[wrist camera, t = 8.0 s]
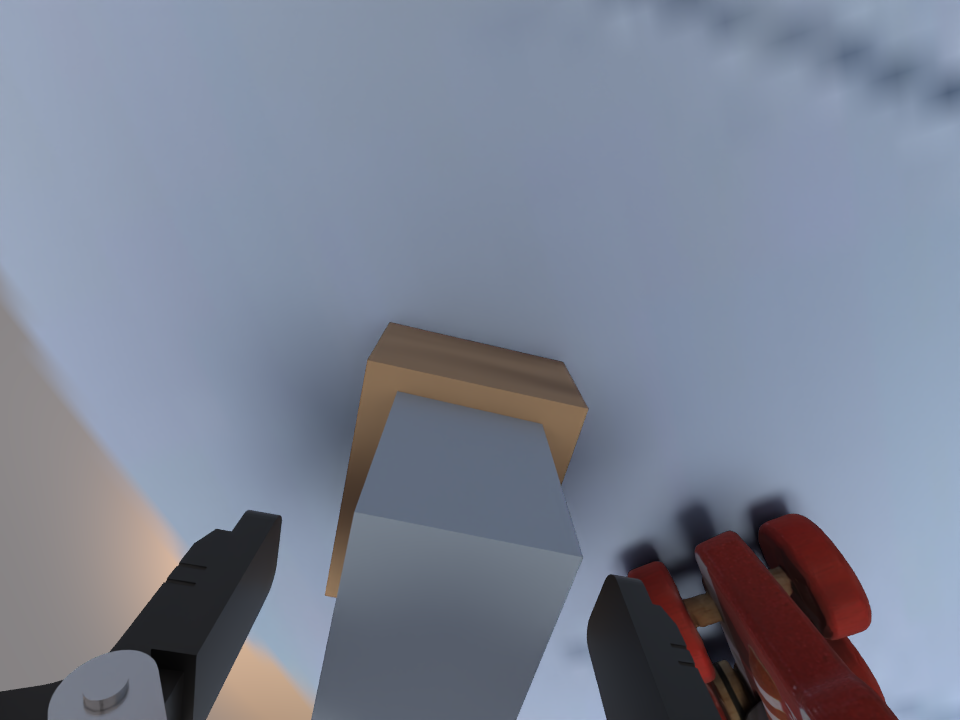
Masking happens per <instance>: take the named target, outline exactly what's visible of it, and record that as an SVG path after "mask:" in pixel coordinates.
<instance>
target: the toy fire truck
mask: <svg viewBox="0 0 960 720" xmlns="http://www.w3.org/2000/svg"><path fill="white" fill-rule="evenodd" d="M758 540H759V544H760V547H761V550H762V552H763V555H764V557H765V559H766V561H767V564H768V566H769V567H770V569H769V570H768V569H767V568H766V567H765V566H764V565H763V563H762V562H761V561H760V560H759V559H758V557H757V556H756V555H755V553H754V552H753V551H752V550H751V549H750V547H749V546H748V545H747V544H746V543H745V542H744V541H743V540H742V539H741V538H740V536H739V535H738V534H737V533H735V532H733V531H726V532H724V533H722V534H719V535H717V536H715V537H713V538H711V539H708V540H706V541H704V542H702V543H700V544H698V545H697V546H696V548H695V558H696V561H697V563H698V565H699V569H700V572H701V574H702V582H703V585H704V588H705V591H706V593H705V594H701V595H698V596H695V597H692V598H688V599H682V598H681V596H680V594H679V591H678V588H677V586H676V584H675V582H674V580H673V578H672V577H671V575H670V573H669V571H668V569H667V568H666V566H665V565H664V564H663V563H662V562H659V561H654V562H651V563H649V564H646V565H643V566H641V567H638V568H635V569H633V570H631V571H629V573H628V577H629V578H635V579H639V580H641V581H642V582H643V584H644V586H645V588H646V590H647V592H648V595H649V597H650V599H651V601H652V604H654V605H660V606H661V607H662V608H663V609H664V611H665V612H666V613H667V614H668V615H669V616H670V618H671V619H672V620H673V621H674V622H675V623H676V625H677V626H678V628H679V631H680V633H681V635H682V637H683V639H684V641H685V643H686V645H687V650H689V651H690V654H691V656H692V658H693V660H694V662H695V668H698V670H699V672H700V675H701V677H702V679H703V681H704V683H705V685H706V687H707V689H708V691H709V693H710V695H711V698H712V700H713V702H714V704H715V706H716V708H717V710H718V712H719V714H720V716H721V719H722V720H898V718H897V717H896V716H895V714H894V713H893V712H892V711H891V709H890V708H889V707H888V706H887V704H886V702H885V698H884V696H883V694H882V691H881V689H880V687H879V685H878V683H877V681H876V679H875V677H874V675H873V674H872V672H871V670H870V669H869V667H868V666H867V664H866V662H865V661H864V659H863V658H862V657H861V655H860V654H859V652H858V651H857V649H856V648H855V647H854V645H853V644H852V643H851V641H850V640H849V639H848V637H847V636H850V635H854V634H856V633H859V632H862V631H864V630H866V629H867V628H868V627H869V625H870V623H871V608H870V605H869V601H868V598H867V596H866V594H865V591H864V589H863V587H862V585H861V583H860V581H859V580H858V578H857V576H856V575H855V573H854V571H853V570H852V568H851V567H850V565H849V564H848V562H847V561H846V559H845V558H844V557H843V555H842V554H841V553H840V551H839V550H838V549H837V547H836V546H835V545H834V543H833V542H832V541H831V540H830V539H829V538H828V537H827V535H826V534H825V533H824V532H823V531H822V530H821V529H820V528H819V527H818V526H817V525H816V524H814V523H813V522H812V521H811V520H809V519H808V518H806V517H804V516H802V515H799V514H787V515H784V516H781V517H779V518H776V519H773V520H770V521H767V522H765V523H764V524H762V525H761V526H760V528H759V533H758ZM716 622H720V624H721V626H722V629H723V631H724V634H725V636H726V639H727V642H728V644H729V647H730V649H731V652H732V654H733V657H734V659H735V664H734V669H733V668H732V667H731V666H730V664H729V663H728V661H726V660H722V661H719V662H716V663H713V664H712V662H711V660H710V658H709V656H708V654H707V651H706V648H705V646H704V643H703V640H702V638H701V636H700V635H699V633H698V631H697V629H696V628H697V627H699V626H700V627H705V626H707V625H711V624H714V623H716Z"/></svg>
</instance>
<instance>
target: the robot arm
mask: <svg viewBox="0 0 960 720" xmlns="http://www.w3.org/2000/svg"><path fill="white" fill-rule="evenodd" d="M281 524H282V517H281V516H280V515H275V514H269V513H264V512H258V511H252V510H248V511H246V512H245V513H244V515H243V516H242V518H241V519H240V520H239V522H238V523H237V525H236V526H235V528H234V529H233V531H232V532H231V531H226V530H220V529H215V530H214V531H212V532H211V533H209V534H208V535H206V536H205V537H203V538H202V539H200V540H199V541H197V542H196V543H194V544H193V546H192V547H191V548H190V550H189V551H188V552H187V553H186V555H185V556H184V557H183V559H182V560H181V561H180V562H179V565H178V566H177V567H176V568H175V569H174V570H173V571H172V573H171V574H170V575H169V577H168V578H167V581H166V582H165V583H163V584H162V586H161V587H160V588H159V590H158V591H157V592H156V593H155V595H154V596H153V597H152V599H151V600H150V601H149V602H148V604H147V605H146V606H145V608H144V609H143V610H142V611H141V613H140V614H139V615H138V617H137V618H136V619H135V620H134V622H133V623H132V625H131V626H130V627H129V629H128V630H127V631H126V632H125V633H124V635H123V636H122V637H121V639H120V640H119V641H118V643H117V644H116V645H115V646H114V647H113V648H112V650H111V651H110V652H109V653H106V654H103V655H100V656H98V657H95V658H93V659H91V660H89V661H87V662H86V663H84V664H82V665H81V666H79V667H78V668H76V670H74V671H73V672H72V673H70V674H69V675H68V676H67V677H66V678H65V679H64V680H61V681H58V682H54V683H50V684H46V685H41V686H34V687H28V688H21V689H15V690H8V691H2V692H0V720H206V718H207V717H208V714H209V712H210V710H211V708H212V706H213V704H214V702H215V700H216V698H217V696H218V694H219V692H220V690H221V688H222V686H223V684H224V682H225V680H226V678H227V676H228V674H229V672H230V670H231V668H232V666H233V664H234V662H235V660H236V658H237V656H238V654H239V652H240V650H241V648H242V646H243V644H244V642H245V640H246V638H247V636H248V634H249V632H250V630H251V628H252V626H253V624H254V622H255V620H256V618H257V616H258V614H259V612H260V610H261V608H262V606H263V603H264V601H265V599H266V597H267V595H268V593H269V591H270V588H271V585H272V582H273V579H274V575H275V571H276V566H277V557H278V549H279V541H280V532H281ZM587 644H588V649H589V653H590V657H591V661H592V665H593V669H594V672H595V676H596V680H597V684H598V688H599V692H600V695H601V699H602V703H603V707H604V711H605V715H606V718H607V720H722V719H721V716H720V714H719V712H718V710H717V708H716V706H715V704H714V702H713V700H712V698H711V695H710V693H709V691H708V689H707V687H706V685H705V683H704V681H703V679H702V677H701V675H700V672H699V670H698V668H695V662H694V660H693V658H692V656H691V654H690V651H689V650H687V645H686V643H685V641H684V639H683V637H682V635H681V633H680V631H679V628H678V626H677V625H676V623H675V622H674V621H673V620H672V619H671V618H670V616H669V615H668V614H667V613H666V612H665V611H664V609H663V608H662V607H661V606H660V605H654V604H652V601H651V599H650V597H649V595H648V592H647V590H646V588H645V586H644V584H643V582H642V581H641V580H639V579H635V578H629V577H623V576H618V575H612V574H610V575H608V576H607V578H606V579H605V581H604V584H603V586H602V589H601V591H600V594H599V596H598V599H597V601H596V604H595V606H594V609H593V611H592V613H591V616H590V619H589V622H588V627H587Z"/></svg>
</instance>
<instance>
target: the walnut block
mask: <svg viewBox="0 0 960 720" xmlns="http://www.w3.org/2000/svg"><path fill="white" fill-rule="evenodd" d="M397 391H399V392H403V393H408V394H412V395H417V396H421V397H425V398H430V399H434V400H439V401H443V402H447V403H452V404H456V405H461V406H465V407H469V408H474V409H478V410H483V411H487V412H491V413H496V414H500V415H504V416H509V417H513V418H518V419H522V420H526V421H531V422H535V423H540V424H542V425H543V428H544V431H545V435H546V438H547V441H548V444H549V448H550V451H551V454H552V458H553V461H554V464H555V467H556V471H557V474H558V477H559V480H560V484H561V485H562V482H563V479H564V476H565V473H566V471H567V468H568V465H569V462H570V459H571V457H572V454H573V451H574V448H575V445H576V443H577V440H578V437H579V434H580V431H581V428H582V426H583V423H584V420H585V417H586V414H587V412H588V407H587V405H586V403H585V402H584V400H583V398H582V396H581V394H580V392H579V391H578V389H577V387H576V385H575V383H574V381H573V379H572V378H571V376H570V374H569V372H568V370H567V368H566V366H565V365H564V363H563V362H561V361H556V360H552V359H548V358H543V357H539V356H535V355H530V354H526V353H522V352H517V351H513V350H508V349H504V348H500V347H495V346H491V345H487V344H482V343H478V342H474V341H469V340H465V339H461V338H456V337H452V336H448V335H443V334H439V333H435V332H430V331H426V330H422V329H417V328H413V327H409V326H404V325H400V324H396V323H391V322H390V323H389V324H388V326H387V328H386V329H385V331H384V333H383V334H382V336H381V338H380V339H379V341H378V343H377V345H376V346H375V348H374V350H373V351H372V353H371V355H370V356H369V358H368V360H367V365H366V370H365V376H364V381H363V387H362V392H361V398H360V403H359V409H358V414H357V420H356V426H355V431H354V437H353V442H352V448H351V453H350V459H349V464H348V470H347V475H346V481H345V487H344V492H343V498H342V503H341V509H340V514H339V520H338V525H337V531H336V536H335V542H334V548H333V553H332V559H331V564H330V570H329V575H328V581H327V586H326V592H325V596H330V597H336V598H337V593H338V588H339V584H340V579H341V574H342V569H343V564H344V559H345V555H346V550H347V545H348V540H349V535H350V530H351V526H352V521H353V516H354V511H355V509H356V506H357V503H358V500H359V497H360V495H361V492H362V489H363V486H364V483H365V481H366V478H367V475H368V472H369V469H370V466H371V464H372V461H373V458H374V455H375V452H376V450H377V447H378V444H379V441H380V438H381V436H382V433H383V430H384V427H385V424H386V422H387V419H388V416H389V413H390V410H391V407H392V405H393V402H394V399H395V396H396V393H397Z"/></svg>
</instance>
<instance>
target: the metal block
mask: <svg viewBox="0 0 960 720" xmlns="http://www.w3.org/2000/svg"><path fill="white" fill-rule="evenodd" d="M582 559H583V555H582V552H581V549H580V546H579V542H578V539H577V536H576V533H575V529H574V526H573V523H572V520H571V516H570V513H569V510H568V506H567V503H566V500H565V497H564V493H563V490H562V487H561V484H560V480H559V477H558V474H557V471H556V467H555V464H554V461H553V458H552V454H551V451H550V448H549V444H548V441H547V438H546V435H545V431H544V428H543V425H542V424H540V423H535V422H531V421H526V420H522V419H518V418H513V417H509V416H504V415H500V414H496V413H491V412H487V411H483V410H478V409H474V408H469V407H465V406H461V405H456V404H452V403H447V402H443V401H439V400H434V399H430V398H425V397H421V396H417V395H412V394H408V393H403V392H399V391H397V393H396V396H395V399H394V402H393V405H392V407H391V410H390V413H389V416H388V419H387V422H386V424H385V427H384V430H383V433H382V436H381V438H380V441H379V444H378V447H377V450H376V452H375V455H374V458H373V461H372V464H371V466H370V469H369V472H368V475H367V478H366V481H365V483H364V486H363V489H362V492H361V495H360V497H359V500H358V503H357V506H356V509H355V511H354V516H353V521H352V526H351V530H350V535H349V540H348V545H347V550H346V555H345V559H344V564H343V569H342V574H341V579H340V584H339V588H338V593H337V598H336V603H335V608H334V613H333V617H332V622H331V627H330V632H329V637H328V642H327V646H326V651H325V656H324V661H323V666H322V671H321V675H320V680H319V685H318V690H317V695H316V700H315V704H314V709H313V714H312V719H311V720H516V719H517V717H518V714H519V712H520V709H521V707H522V704H523V702H524V700H525V697H526V695H527V692H528V690H529V687H530V685H531V683H532V680H533V678H534V675H535V673H536V670H537V668H538V666H539V663H540V661H541V658H542V656H543V653H544V651H545V649H546V646H547V644H548V641H549V639H550V636H551V634H552V632H553V629H554V627H555V624H556V622H557V619H558V617H559V615H560V612H561V610H562V607H563V605H564V603H565V600H566V598H567V595H568V593H569V590H570V588H571V586H572V583H573V581H574V578H575V576H576V573H577V571H578V569H579V566H580V564H581V561H582Z"/></svg>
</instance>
